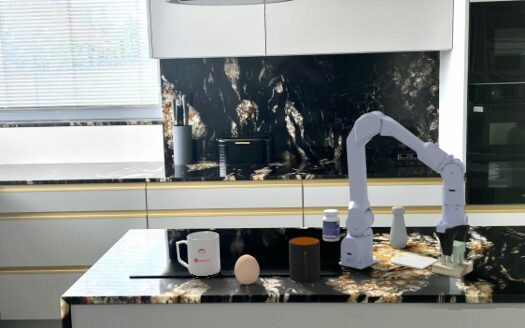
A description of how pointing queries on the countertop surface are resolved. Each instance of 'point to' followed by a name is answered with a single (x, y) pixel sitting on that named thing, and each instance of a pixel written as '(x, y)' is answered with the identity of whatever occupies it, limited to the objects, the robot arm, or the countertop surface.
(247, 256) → the egg
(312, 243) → the mug
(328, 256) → the countertop surface
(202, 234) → the mug
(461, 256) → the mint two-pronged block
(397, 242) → the salt shaker
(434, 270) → the step
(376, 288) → the countertop surface
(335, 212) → the pill bottle
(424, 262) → the pad
